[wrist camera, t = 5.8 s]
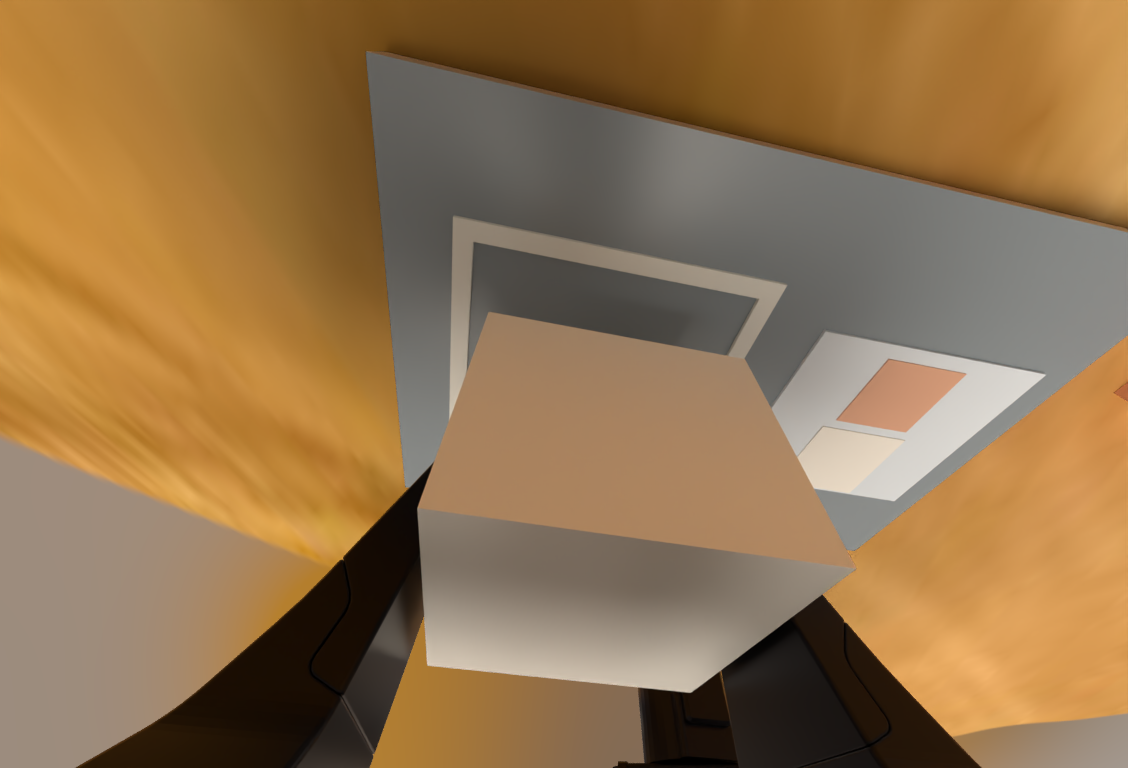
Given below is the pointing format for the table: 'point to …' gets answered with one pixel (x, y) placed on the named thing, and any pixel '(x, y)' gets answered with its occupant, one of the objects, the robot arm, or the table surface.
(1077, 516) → the table surface
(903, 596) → the table surface
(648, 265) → the building plate
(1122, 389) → the terracotta block
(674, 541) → the cream block
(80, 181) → the table surface
